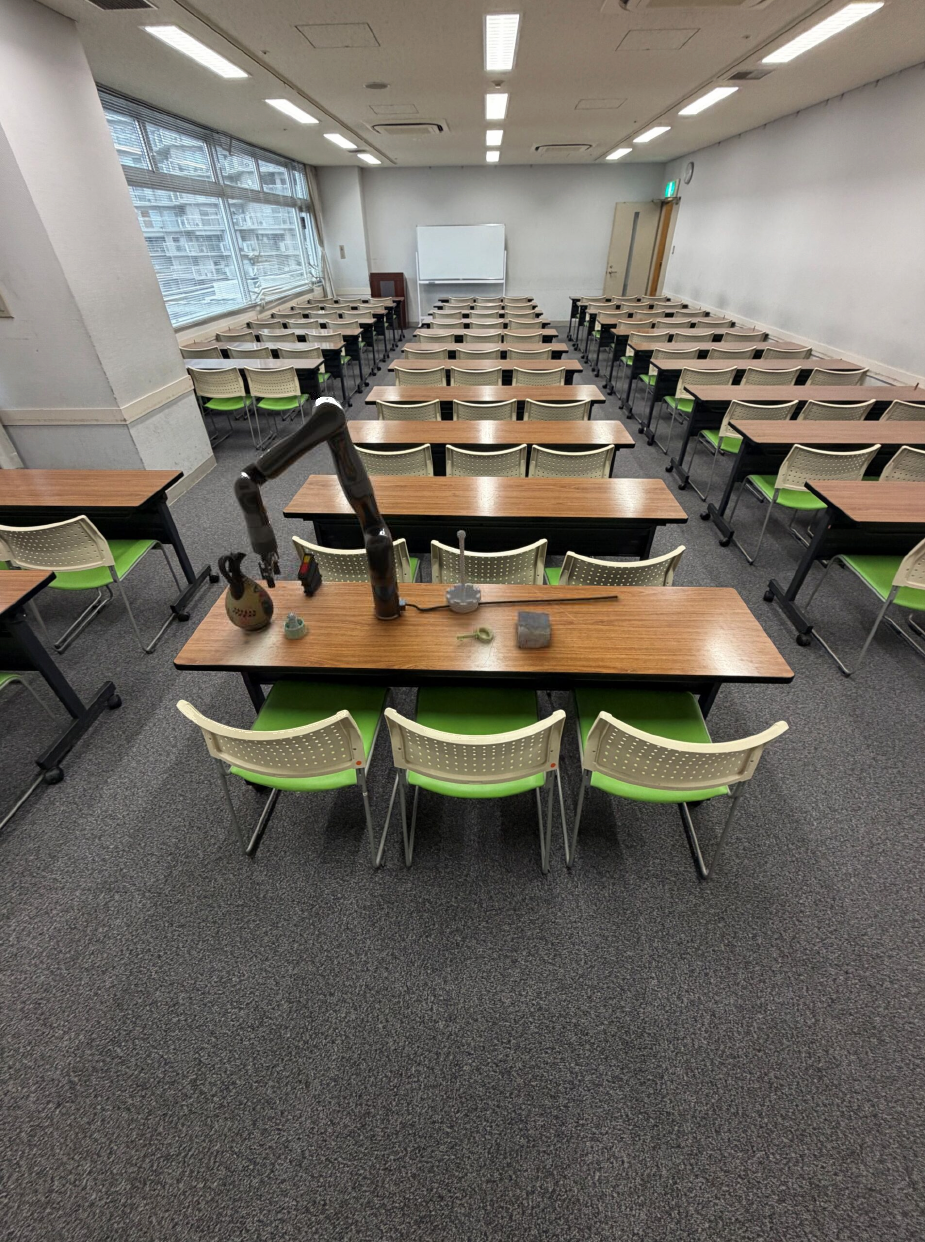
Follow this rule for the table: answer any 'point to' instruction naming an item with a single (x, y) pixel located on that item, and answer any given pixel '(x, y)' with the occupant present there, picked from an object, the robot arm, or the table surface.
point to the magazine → (309, 574)
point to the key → (477, 635)
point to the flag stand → (463, 587)
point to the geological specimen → (533, 629)
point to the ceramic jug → (245, 597)
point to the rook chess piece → (292, 620)
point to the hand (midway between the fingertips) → (275, 580)
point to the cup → (295, 632)
